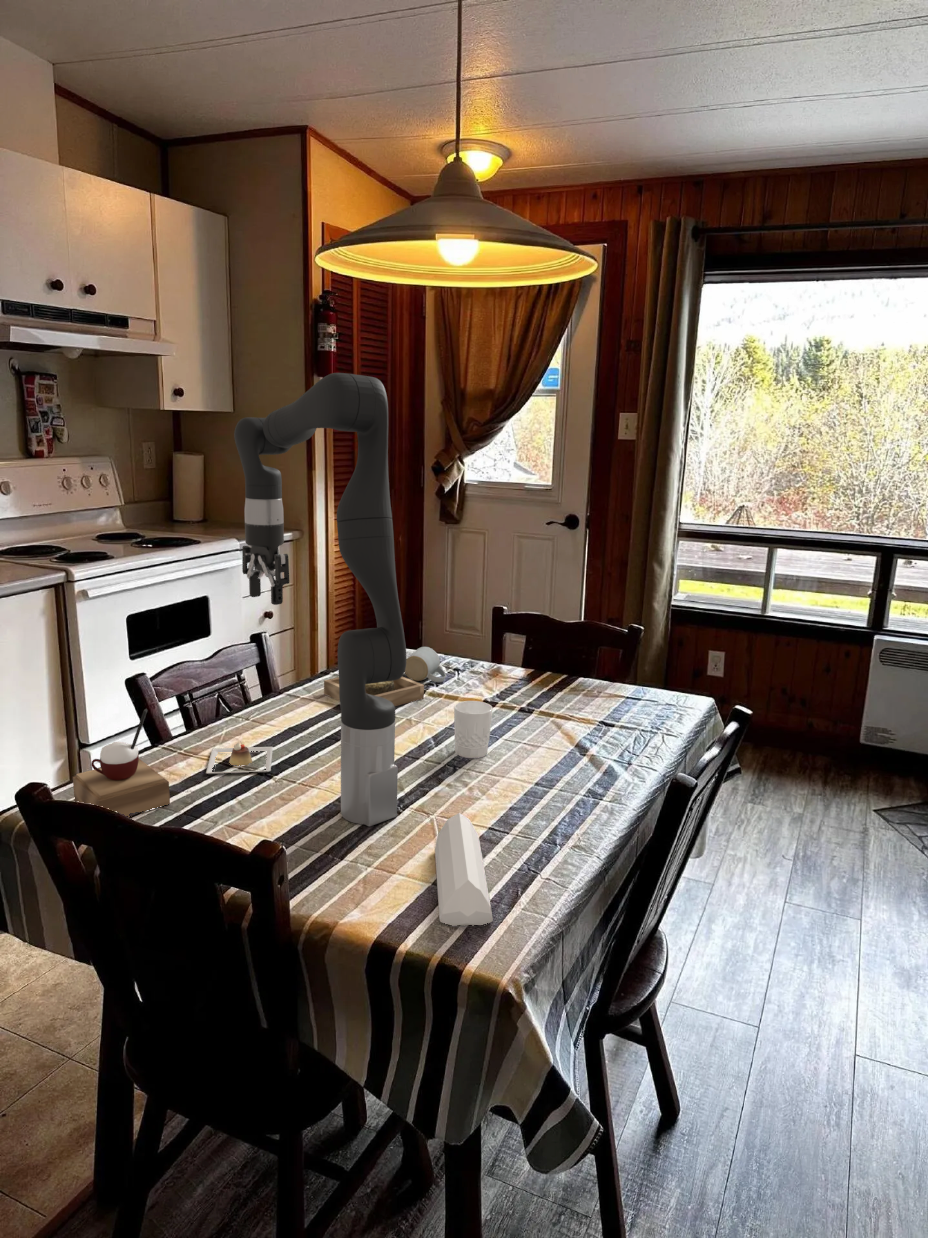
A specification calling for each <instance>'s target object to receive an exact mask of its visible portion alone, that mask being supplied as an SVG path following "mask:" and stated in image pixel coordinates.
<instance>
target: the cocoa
mask: <svg viewBox="0 0 928 1238" xmlns="http://www.w3.org/2000/svg"><path fill="white" fill-rule="evenodd" d="M147 713H148V709H147V708H145V709H144V710H143V712H142V715H141V718H140V720H139V723H138V726H137V729H136V732H135V735H134V738H133V741H132V743H127V742H124V741H113V742H112V743H110V744H106V745H105V746H102V748H101V750H100V754H99V755H100V756H99V758H93V759H92V761H91V764H90V765H91V767H92V770H94V769H95V770H96V771H97V772H99V773H101V774H103V775H105V776H106V777H107V778H109V779H111V780H116V781H120V780H125V779H128V778H130V777H131V776H132V775H134V774H135V772H136V770H137V766H138V761H139V759H140V757H139V748H138V747H137V745H136V744H137V742H138V739H139V736H140V733H141V730H142V727H143V724H144V723H145V722H144V721H145V719H146V716H147ZM95 763H99V765H100V768H101V769H102V771H101V770H100V769H98V768H99V767H96V765H95Z"/></svg>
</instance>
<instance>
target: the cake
mask: <svg viewBox="0 0 928 1238" xmlns="http://www.w3.org/2000/svg"><path fill="white" fill-rule="evenodd" d="M394 690H396V689H395V687H394V682H393V681H386V682H379V683H371V684H365V691H366V693H367V694H370V695H378V694H382V693H386V692H390V691H394Z"/></svg>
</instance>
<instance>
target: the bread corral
mask: <svg viewBox="0 0 928 1238" xmlns="http://www.w3.org/2000/svg"><path fill="white" fill-rule="evenodd" d="M393 682H394V687H395V690H394V691H390V692H386V693H382V694H378V695H374V696H378V697H382V698H385V699H387V700H389V701H391V702H392V703H393V704H394V706H395V707H398V706H400V705H405V704H408V703H412V702H415V701H420V700H424V698H425V697H424V695H425V685H424V684H422V683H420V682H419V681H414V680H412V679H410V678H408V677H405V676H402V677H401V678H400V679H398V680H393ZM323 695H326V696H327V697H329V698H331V699H334V700H336V701H339V702H340V698H339V676H338V677H333V678H329V679H328V678H327V679H325V680H323Z"/></svg>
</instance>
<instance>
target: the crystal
mask: <svg viewBox="0 0 928 1238" xmlns="http://www.w3.org/2000/svg"><path fill="white" fill-rule="evenodd" d="M434 856H435V868H436V869H435V870H436V871H435V872H436V885H437V900H438V915H439V922H440V923H442V924H444V923H445V925H446V924H450V925H452V926H451V927H458V926H457V925H472V926H471V927H475V926H474V925H483V924H486V925H488V924H490V923H491V922H493V921H494V919H493V913H492V906H491V901H490V894H489V889H488V883H487V877H486V872H485V866H484V865H485V864H484V861H483V860H484V859H483V854H482V848H481V842H480V837H479V833H478V832H477V830H476V828H475V826H474V824H473V823H472V821H471V820H470V818H468V817H467V816H466V815H464V814H462V813H461V812H458V813H456V814H455V815H453V816H451V817H448V819H447V820H446V821H445V823H444V824H443V826H442V828H441V829H440V830H439V832H438V834H437V837H436V841H435V847H434ZM487 923H488V924H487Z"/></svg>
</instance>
